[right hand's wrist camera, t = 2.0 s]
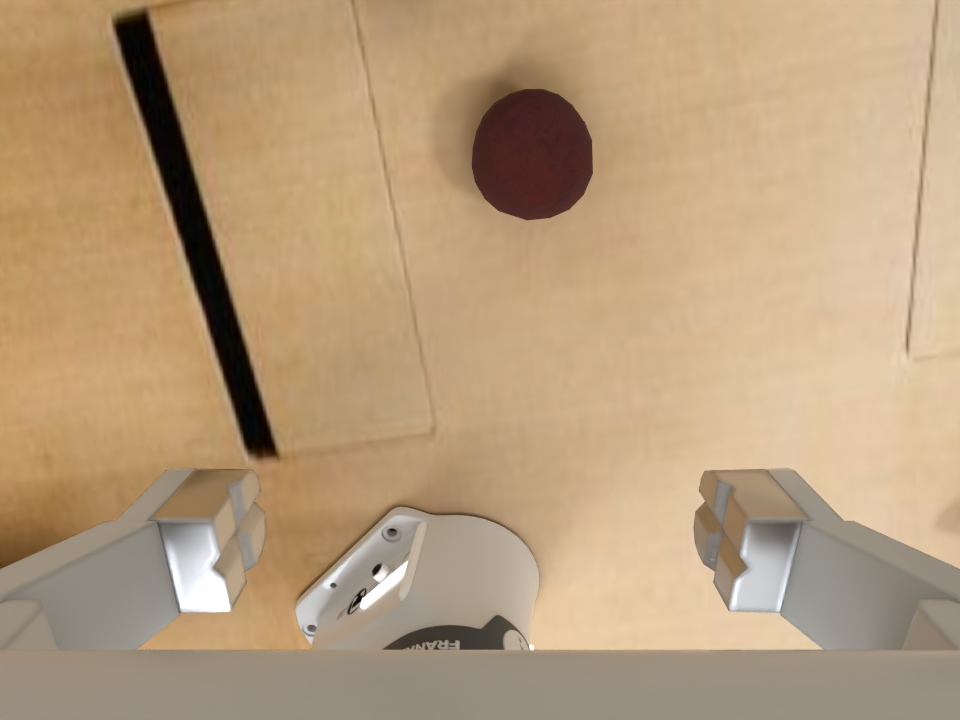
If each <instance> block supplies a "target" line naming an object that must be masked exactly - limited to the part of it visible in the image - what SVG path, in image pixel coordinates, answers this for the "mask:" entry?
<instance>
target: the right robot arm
mask: <svg viewBox="0 0 960 720" xmlns="http://www.w3.org/2000/svg"><path fill="white" fill-rule="evenodd" d="M260 492H261V488H260V483H259V478H258V474H257V473H256V472H255V471H254V470H239V469H196V468H186V469H169V470H165V471H164V472H163V473H162V474H161V475H160V476H159V478H158V479H157V480H156V481H155V482H154V483H153V484H152V485H151V486H150V487H149V488H148V489H147V490H146V491H145V492H144V493H143V494H142V495H141V496H140V497H139V498H138V499H137V500H136V501H135V502H134V503H133V504H132V505H131V506H130V507H129V508H128V509H127V510H126V511H125V512H124V513H123V514H122V515H121V516H120V517H119V518H118V519H117V520H116V521H106V522H103V523H101V524H99V525H97V526H94V527H92V528H90V529H88V530H86V531H83V532H81V533H79V534H77V535H74V536H72V537H70V538H68V539H66V540H63V541H61V542H59V543H57V544H55V545H52V546H50V547H48V548H46V549H43V550H41V551H39V552H37V553H35V554H32V555H30V556H28V557H26V558H23V559H21V560H19V561H17V562H15V563H12V564H10V565H8V566H6V567H4V568H1V569H0V720H960V569H958V568H956V567H954V566H952V565H950V564H947V563H945V562H943V561H941V560H938V559H936V558H934V557H932V556H930V555H927V554H925V553H923V552H921V551H919V550H916V549H914V548H912V547H910V546H908V545H905V544H903V543H901V542H899V541H896V540H894V539H892V538H890V537H888V536H885V535H883V534H881V533H879V532H877V531H874V530H872V529H870V528H868V527H866V526H863V525H861V524H859V523H857V522H854V521H844V520H843V519H842V518H841V517H840V516H839V515H838V514H837V513H836V512H835V511H834V510H833V509H832V508H831V507H830V506H829V505H828V504H827V503H826V502H825V501H824V500H823V499H822V498H821V497H820V496H819V495H818V494H817V493H816V492H815V491H814V490H813V489H812V488H811V487H810V486H809V484H808V483H807V482H806V481H805V480H804V479H803V478H802V477H801V476H800V475H799V474H798V473H797V472H796V471H794V470H792V469H789V468H778V469H749V470H710V471H704V473H703V475H702V478H701V481H700V487H699V492H700V493H701V495H702V497H703V498H704V500H705V502H704V503H703V504H702V505H701V506H700V507H699V509H698V510H697V511H696V512H695V520H694V538H695V544H696V548H697V551H698V554H699V556H700V558H701V560H702V562H703V564H704V565H706V566H707V567H709V568H710V569H712V570H713V571H715V576H714V582H713V583H714V584H715V586H716V588H717V590H718V592H719V594H720V595H721V597H722V599H723V601H724V603H725V605H726V607H727V608H728V610H729V611H730V612H766V613H781V616H782V617H783V618H785V619H786V620H787V621H788V622H790V623H791V624H792V625H793V626H795V627H796V628H797V629H799V630H800V631H801V632H802V633H804V634H805V635H806V636H807V637H809V638H810V639H811V640H812V641H814V642H815V643H816V644H817V645H819V646H820V647H821V648H822V649H824V650H533V645H530V633H531V623H532V617H533V611H534V606H535V602H536V599H537V595H538V591H539V582H540V579H539V571H538V567H537V564H536V561H535V559H534V557H533V555H532V553H531V551H530V550H529V548H528V547H527V546H526V545H525V543H524V542H523V541H522V540H521V539H520V538H519V537H517V536H516V535H515V534H514V533H512V532H511V531H510V530H508V529H506V528H505V527H503V526H501V525H499V524H497V523H494V522H492V521H489V520H486V519H483V518H479V517H474V516H467V515H431V514H428V513H425V512H422V511H419V510H416V509H412V508H408V507H397V508H394V509H392V510H391V511H390V512H389V513H388V514H387V515H386V516H385V517H383V518H382V519H381V520H380V521H379V522H378V523H377V524H376V525H375V526H374V527H373V528H372V529H371V530H370V531H369V532H368V533H367V534H366V535H365V536H363V537H362V538H361V539H360V540H359V541H358V542H357V543H356V544H355V545H354V546H353V547H352V548H351V549H350V550H349V551H348V552H347V553H346V554H345V555H344V556H342V557H341V558H340V559H339V560H338V561H337V562H336V563H335V564H334V565H333V566H332V567H331V568H330V569H329V570H328V571H327V572H326V573H325V574H324V575H322V576H321V577H320V578H319V579H318V580H317V581H316V582H315V583H314V584H313V585H312V586H311V587H310V588H309V589H308V590H307V591H306V592H305V593H304V594H303V595H302V596H301V597H300V598H299V599H298V601H297V604H296V608H295V613H296V617H297V621H298V624H299V626H300V628H301V630H302V632H303V634H304V635H305V637H306V638H307V640H308V641H309V643H310V644H311V645H312V646H311V650H136V649H138V648H139V647H140V646H141V645H143V644H144V643H145V642H147V641H148V640H149V639H150V638H152V637H153V636H154V635H155V634H157V633H158V632H159V631H160V630H162V629H163V628H164V627H165V626H167V625H168V624H169V623H171V622H172V621H173V620H174V619H176V618H177V617H178V616H179V613H193V612H228V611H231V610H232V608H233V607H234V605H235V603H236V601H237V599H238V597H239V596H240V594H241V592H242V590H243V588H244V586H245V584H246V583H247V582H246V576H245V571H247V570H248V569H250V568H251V567H253V566H254V565H256V564H257V562H258V560H259V558H260V556H261V554H262V552H263V547H264V543H265V539H266V519H265V512H264V511H263V510H262V509H261V508H260V506H259V505H258V504H257V503H256V502H255V500H256V498H257V497H258V495H259V493H260ZM391 528H393V529H395V530H397V531H391V530H390V529H391Z"/></svg>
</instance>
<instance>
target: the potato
mask: <svg viewBox="0 0 960 720" xmlns="http://www.w3.org/2000/svg"><path fill="white" fill-rule="evenodd" d="M472 169H473V174H474V179H475V182H476V184H477V186H478V188H479V190H480V191H481V193H482V195H483V196H484V198H485V199H486V200H487V201H488V202H489V203H490V204H491V205H493V206H494V207H495V208H496V209H497V210H498V211H500V212H503V213H506V214H510V215H513V216H516V217H519V218H522V219H525V220H535V219H544V218H551V217H553V216H555V215H558V214H560V213H562V212H565V211H567V210H569V209H570V208H571V207H572V206H573V205H574V204H575V203H576V202H577V201H578V200H579V199H580V198H581V197H582V196H583V195H584V193H585V191H586V188H587V186H588V183H589V181H590V179H591V176H592V174H593V164H592V139H591V137H590V135H589V132H588V130H587V127H586V125H585V122H584V121H583V119H582V118H581V117H580V115H579V114H578V113H577V111H576V110H575V108H574V107H573V106H572V104H570V103H569V102H568V101H566V100H565V99H564V98H562V97H561V96H560V95H558V94H555V93H552V92H549V91H546V90H543V89H525V90H522V91H518V92H515V93H511V94H509V95H507V96H505V97H504V98H502V99H500V100H499V101H497V102H495V103H494V104H493V105H492V107H491V108H490V109H489V110H488V111H487V113H486V114H485V115H484V116H483V118H482V121H481V123H480V125H479V127H478V129H477V132H476V136H475V141H474V146H473V156H472Z"/></svg>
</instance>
